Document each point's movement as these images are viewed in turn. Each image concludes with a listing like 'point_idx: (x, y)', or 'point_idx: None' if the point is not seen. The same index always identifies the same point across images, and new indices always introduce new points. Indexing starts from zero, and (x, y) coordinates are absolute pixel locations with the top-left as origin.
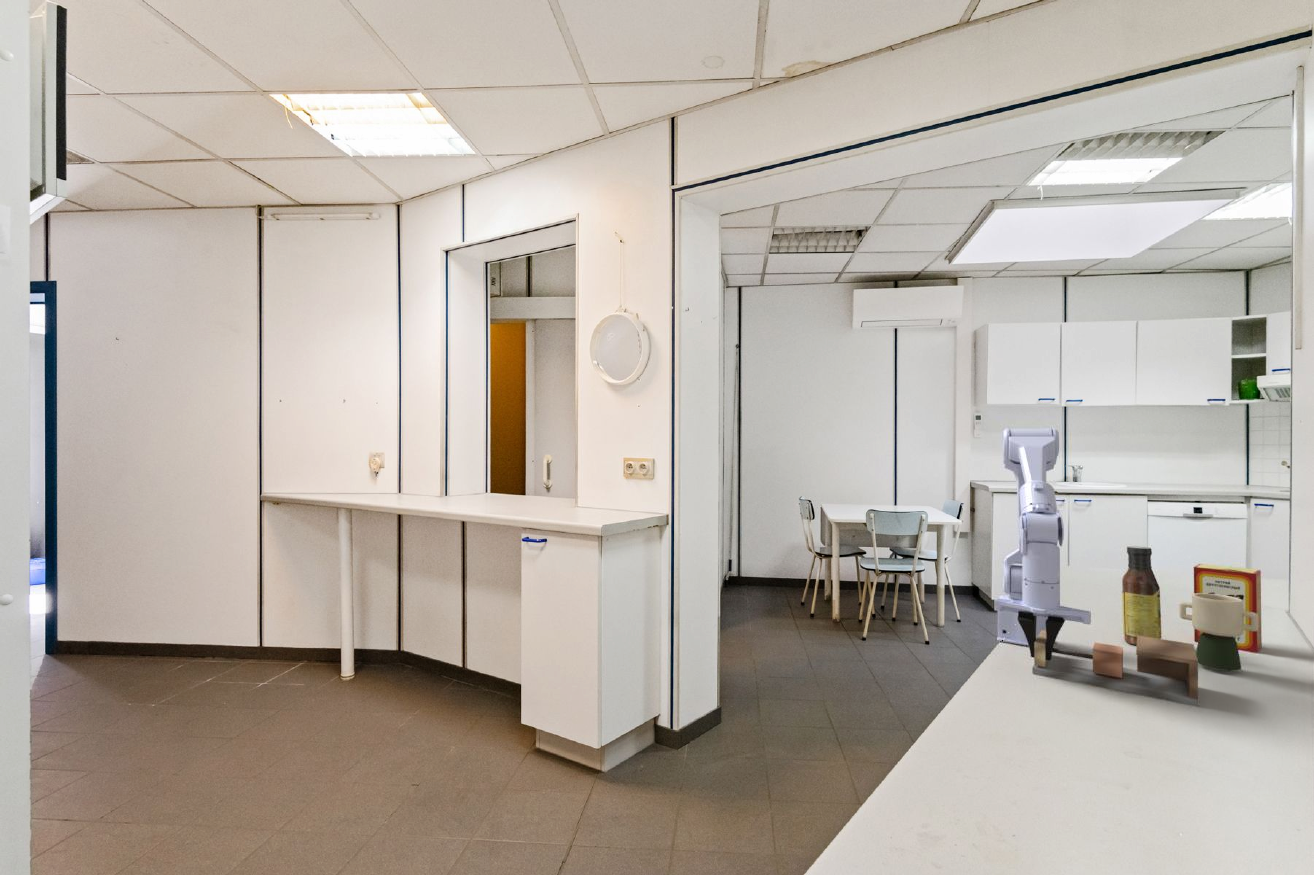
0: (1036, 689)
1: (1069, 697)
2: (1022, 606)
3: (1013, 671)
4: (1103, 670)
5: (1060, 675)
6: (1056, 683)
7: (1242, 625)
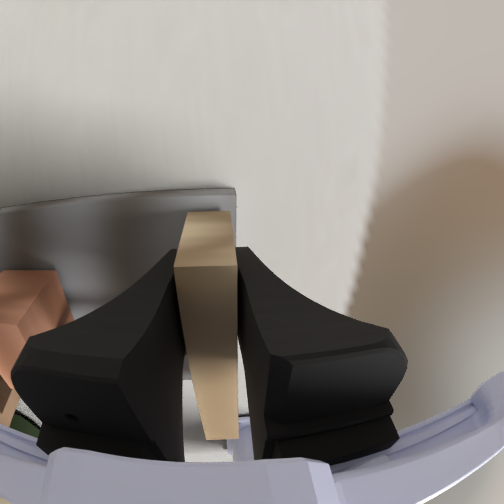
0: (200, 3)
1: (96, 10)
2: (425, 489)
3: (301, 170)
4: (28, 278)
5: (133, 196)
6: (141, 127)
7: None
